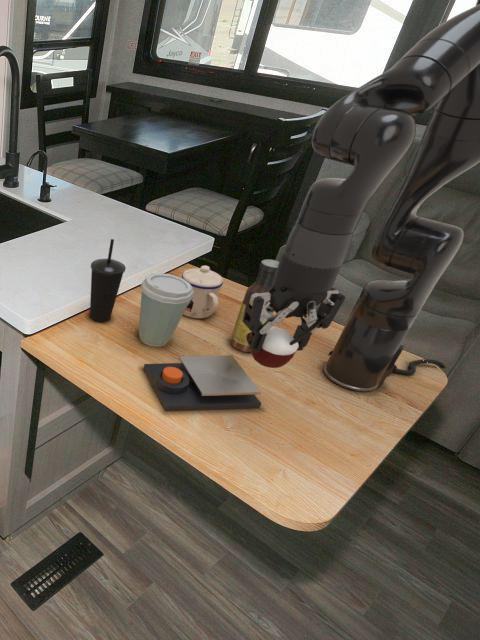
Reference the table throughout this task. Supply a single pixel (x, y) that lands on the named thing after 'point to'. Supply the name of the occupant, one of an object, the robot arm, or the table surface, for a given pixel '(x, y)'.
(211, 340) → the table surface
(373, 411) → the table surface
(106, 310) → the drinking cup
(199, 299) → the teacup with lid
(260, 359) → the cocoa
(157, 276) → the disposable coffee cup
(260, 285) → the sauce bottle
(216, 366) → the weighing plate
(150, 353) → the table surface
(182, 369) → the scale
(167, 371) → the power button
